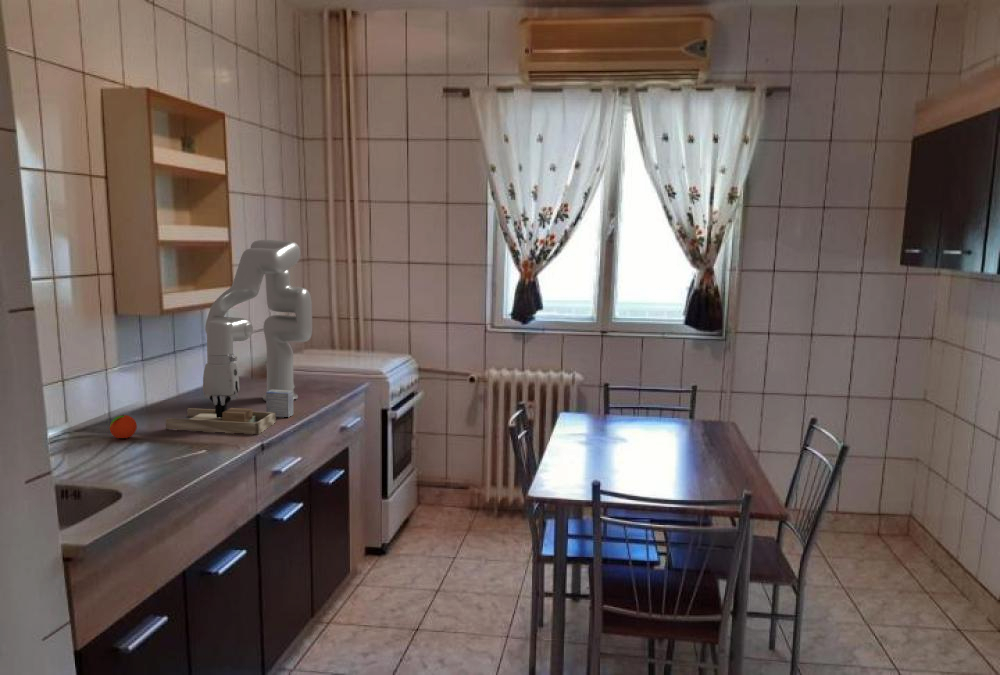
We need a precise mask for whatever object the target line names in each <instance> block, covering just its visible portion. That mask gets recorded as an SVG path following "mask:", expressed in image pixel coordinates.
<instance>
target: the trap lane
mask: <svg viewBox="0 0 1000 675" xmlns="http://www.w3.org/2000/svg"><path fill="white" fill-rule="evenodd" d="M186 412H187V416H185V417H183V418H173V417H171V418H170V417H166V418H165V430H166V429H177V430H192V431H191V432H196V431H203V432H202V433H215V432H225V433H224V434H234V433H244V434H243V435H253V434H258V435H260V434H261V432H262V433H264V432H265V431H266V430H267V428H268V429H269V428H271V427H272V426H273V425H275V424H276V422H277V421H276V420H277V417H276V413H275V412H266V411H253V418H252V419H250V420H249V421H247V422H234V421H223V419H222V418H220V417H219V418H217V417H216V413H215V408H214V409H212V408H192V407H191V408H190V407H189V408H187V411H186ZM274 423H275V424H274ZM271 425H272V426H271ZM177 430H176V431H177ZM264 430H265V431H264ZM258 435H257V436H258Z"/></svg>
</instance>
